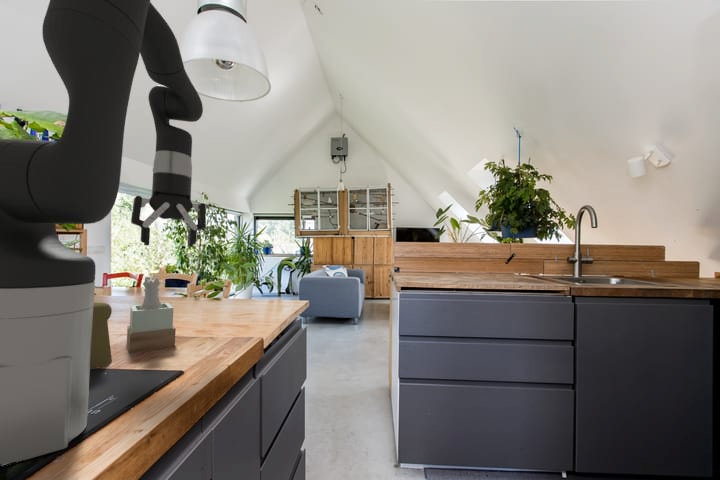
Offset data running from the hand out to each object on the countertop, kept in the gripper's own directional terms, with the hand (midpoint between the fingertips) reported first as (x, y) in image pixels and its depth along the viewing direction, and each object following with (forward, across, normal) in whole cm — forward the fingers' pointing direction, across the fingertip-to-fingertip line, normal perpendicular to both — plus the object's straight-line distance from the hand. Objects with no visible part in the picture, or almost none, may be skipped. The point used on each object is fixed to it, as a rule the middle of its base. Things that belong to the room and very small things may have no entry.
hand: (169, 246), depth 70 cm
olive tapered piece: (+22, -12, -7) cm, 26 cm away
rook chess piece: (+15, -3, 0) cm, 16 cm away
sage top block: (+18, -3, +1) cm, 18 cm away
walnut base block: (+22, -2, +1) cm, 22 cm away
